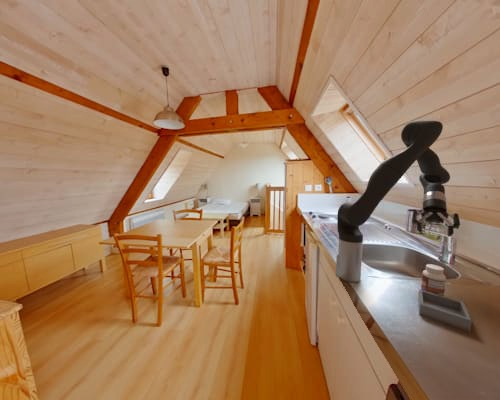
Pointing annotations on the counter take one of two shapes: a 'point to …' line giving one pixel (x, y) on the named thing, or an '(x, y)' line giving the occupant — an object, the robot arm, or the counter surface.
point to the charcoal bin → (444, 310)
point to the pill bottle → (433, 280)
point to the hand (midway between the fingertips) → (434, 233)
